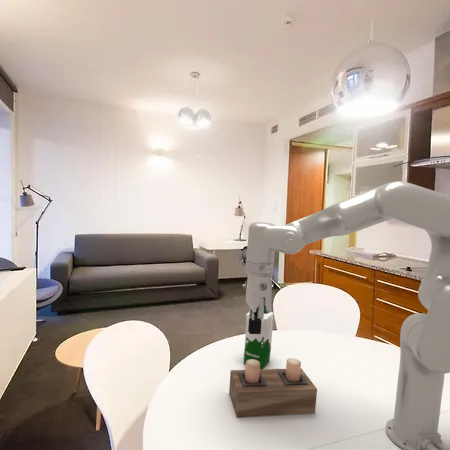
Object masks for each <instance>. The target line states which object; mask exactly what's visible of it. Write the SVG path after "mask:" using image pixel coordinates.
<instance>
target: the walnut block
mask: <svg viewBox="0 0 450 450" xmlns="http://www.w3.org/2000/svg"><path fill="white" fill-rule="evenodd" d="M229 375H230V377H229V389H228V390H229V391H228V394H229V397H230V399H231V404H232V407H233V411H234V414H235V416H236V418H253V417H254V418H255V417H273V416H291V415H293V416H294V415H312V414H316V407H317V394H318V388H317V387H316V386H315V384H314V383H313V382H312V380H311V378H309V376H308V375H307V374H306V372H305V371H304V369H303V368H301V369H300V381H299V382H287V380H286V379H285V375H286V368H266V369H264V368H263V369H260V373H259V383H245V369H230V374H229Z"/></svg>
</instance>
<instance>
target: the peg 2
mask: <svg viewBox="0 0 450 450" xmlns="http://www.w3.org/2000/svg"><path fill="white" fill-rule="evenodd" d="M285 369H286V375H285V379H286V380H287V382H299V381H300V369H302V362H301V360H299V359H296V358H290V357H289V358H287V359H286V364H285Z"/></svg>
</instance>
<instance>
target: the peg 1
mask: <svg viewBox="0 0 450 450" xmlns="http://www.w3.org/2000/svg"><path fill="white" fill-rule="evenodd" d="M244 368H245V369H244V370H245V383H259V373H260V362H259V361H257V360H254V359H249V360H247V361H246V364H245V366H244Z"/></svg>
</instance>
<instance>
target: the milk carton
mask: <svg viewBox="0 0 450 450" xmlns="http://www.w3.org/2000/svg"><path fill="white" fill-rule="evenodd" d="M274 313H275V312H272V311H270V312H269V313H268V312H267V311H266V310H265V309H264V318H262V323H261V333H260V334H250V333H249V332H248V326H249V318H251V317H249V311H248V312H247V313H246V314H245V336H244V337H245V338H244V354H243V364H244V365H246V361H247V360H249V359H254V360H257V361H259V362H260V369H264V368H265V367H266V365H267V364H268V363H269V362H270V358H271V351H272V350H271V349H272V341H273V340H272V337H273V326H274V325H273V323H274Z"/></svg>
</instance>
